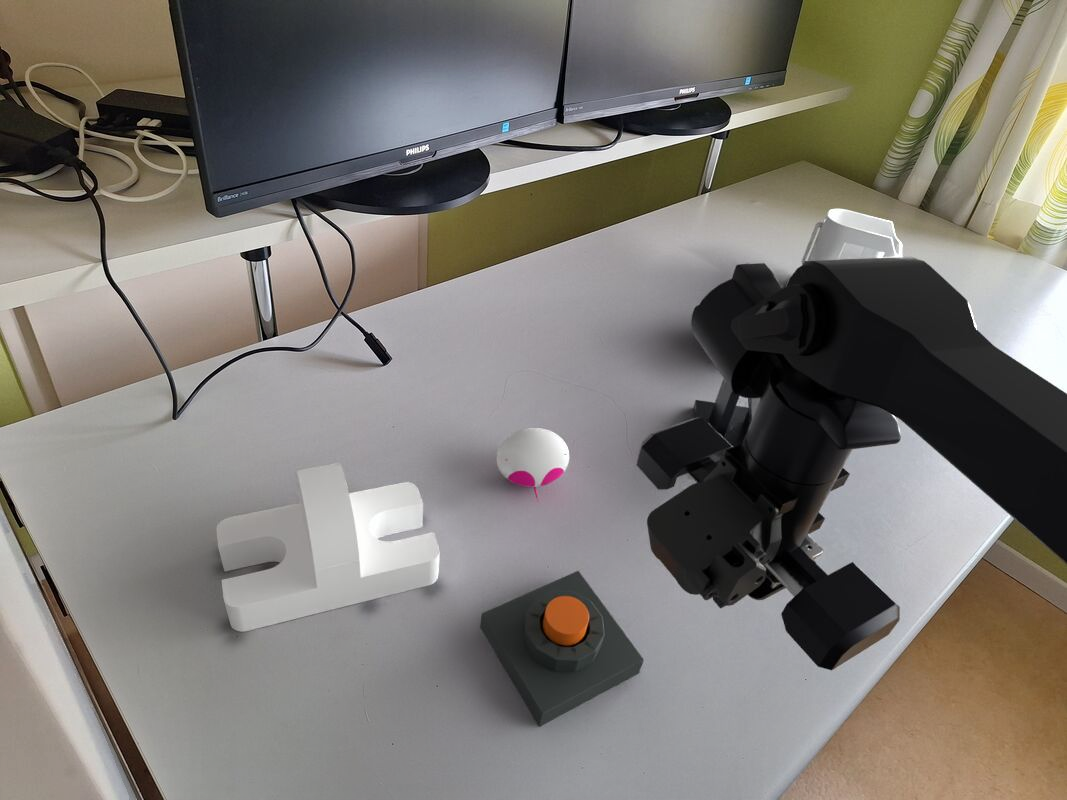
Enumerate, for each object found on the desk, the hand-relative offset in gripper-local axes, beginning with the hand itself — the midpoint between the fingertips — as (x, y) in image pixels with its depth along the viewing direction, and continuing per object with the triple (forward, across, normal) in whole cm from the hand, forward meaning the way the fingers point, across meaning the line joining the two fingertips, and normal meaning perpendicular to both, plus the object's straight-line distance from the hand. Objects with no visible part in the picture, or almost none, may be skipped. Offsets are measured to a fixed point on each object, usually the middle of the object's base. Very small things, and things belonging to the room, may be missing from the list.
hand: (721, 602), depth 55 cm
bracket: (+13, -22, +25) cm, 36 cm away
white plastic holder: (+13, -39, +64) cm, 76 cm away
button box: (+13, -8, -7) cm, 17 cm away
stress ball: (+13, -26, +1) cm, 29 cm away
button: (+9, -8, -7) cm, 14 cm away
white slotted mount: (+13, -25, -21) cm, 35 cm away
